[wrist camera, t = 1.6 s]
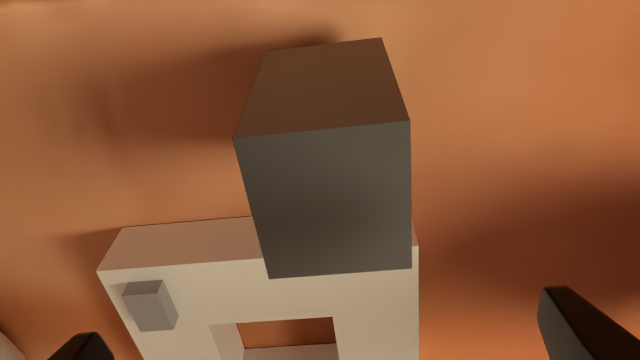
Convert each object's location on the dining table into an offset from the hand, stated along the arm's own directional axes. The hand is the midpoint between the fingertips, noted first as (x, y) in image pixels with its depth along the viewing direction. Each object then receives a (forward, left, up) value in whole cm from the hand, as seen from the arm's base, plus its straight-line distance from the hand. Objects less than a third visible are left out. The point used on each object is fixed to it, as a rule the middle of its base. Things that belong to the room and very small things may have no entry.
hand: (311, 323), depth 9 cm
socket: (+4, +12, -11) cm, 17 cm away
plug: (0, 0, -11) cm, 11 cm away
